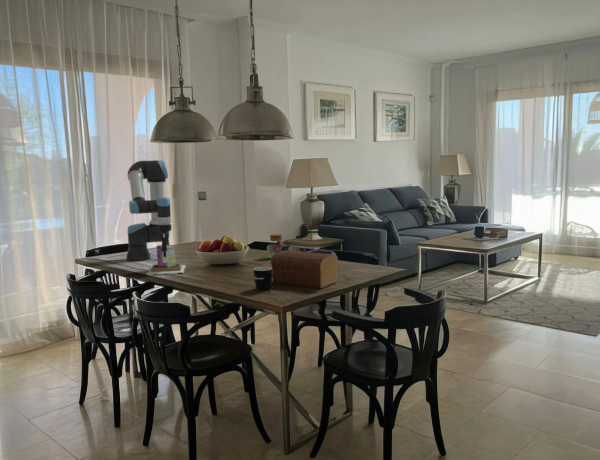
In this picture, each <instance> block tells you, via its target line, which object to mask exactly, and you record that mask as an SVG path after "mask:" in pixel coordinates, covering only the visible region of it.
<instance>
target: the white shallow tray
mask: <svg viewBox="0 0 600 460" xmlns="http://www.w3.org/2000/svg"><path fill="white" fill-rule="evenodd" d="M184 269H186V264H182V262H179V263H177V262H176V266H172V267H164V266H159V265H158V263H156V264H152V265H151V266H150V267H149V270H148V271H147V272H146V276H147V275H149V276H154V275H153V274H169V275H178V274H177V273H183V274H184V273H185V270H184Z"/></svg>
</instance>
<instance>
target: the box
mask: <svg viewBox="0 0 600 460" xmlns="http://www.w3.org/2000/svg"><path fill="white" fill-rule="evenodd" d="M175 248H176V247H175V245H170V244H169V245H167V255H168V262H165V263H163V256H162V251H161V250H162V244H160V245H156V258H157V264H158V265H159V266H164V267H172V266H176V263H177V262H176V252H175V250H176V249H175Z"/></svg>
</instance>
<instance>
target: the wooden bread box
mask: <svg viewBox="0 0 600 460" xmlns="http://www.w3.org/2000/svg"><path fill="white" fill-rule="evenodd" d="M271 256H272V258H271V259H270V264H271V268H272V273H273V274H274V275H275V277H276V282H275V284H276V283H277V284H283V285H291V286H298V287H306V288H314V289H324V288H326V287H329V286H331V285H333V283H334V284H335V282H336V283H337V274H338V272H337V271H338V261H337V257H338V256H337V255H336V256H337V257H336V256H334V255H331V254H321V253H311V252H308V251H300V250H290V249H289V250H288V249H287V250H282V251H280V252H277V253H276V252H274V253H273V255H271ZM272 283H274V277H273V276H272ZM330 284H331V285H330ZM328 285H329V286H328Z"/></svg>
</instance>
